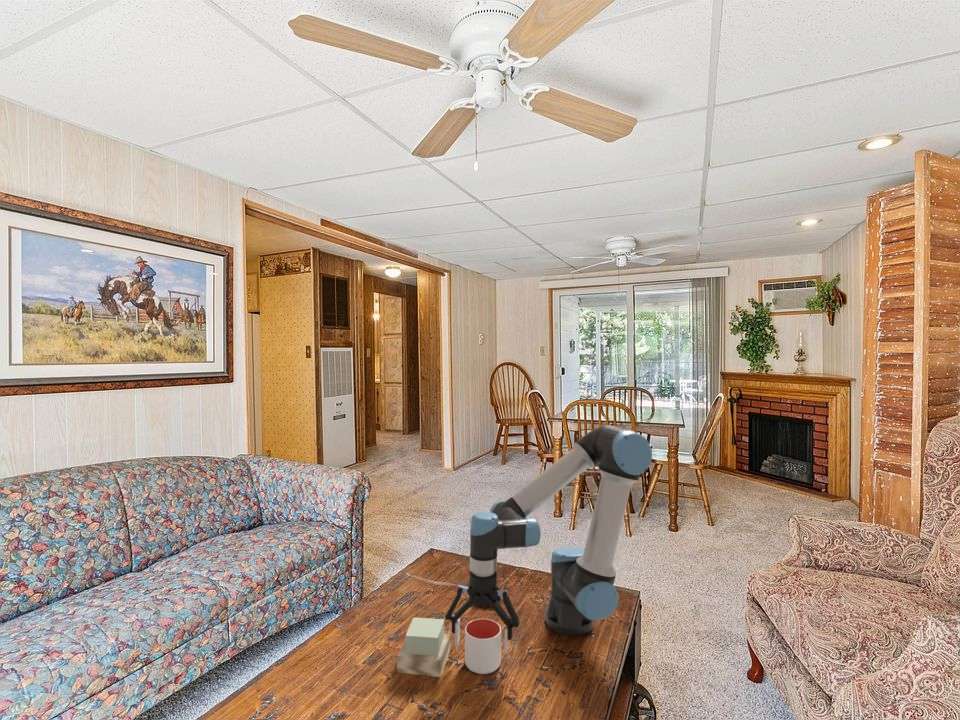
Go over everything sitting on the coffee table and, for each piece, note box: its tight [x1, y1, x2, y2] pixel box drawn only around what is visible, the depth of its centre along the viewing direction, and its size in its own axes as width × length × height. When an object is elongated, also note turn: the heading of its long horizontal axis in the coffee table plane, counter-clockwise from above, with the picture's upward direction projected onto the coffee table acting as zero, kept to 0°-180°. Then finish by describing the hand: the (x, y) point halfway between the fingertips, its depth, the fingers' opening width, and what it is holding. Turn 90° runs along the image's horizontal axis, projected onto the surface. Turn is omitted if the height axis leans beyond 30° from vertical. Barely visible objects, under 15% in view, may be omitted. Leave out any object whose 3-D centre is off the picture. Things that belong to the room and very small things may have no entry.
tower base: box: [396, 632, 451, 678], centre depth 135 cm, size 12×12×5 cm
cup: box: [464, 618, 502, 675], centre depth 133 cm, size 10×10×10 cm
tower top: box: [404, 617, 445, 656], centre depth 134 cm, size 9×9×5 cm
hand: (481, 647), depth 133 cm, fingers open, 13 cm apart
